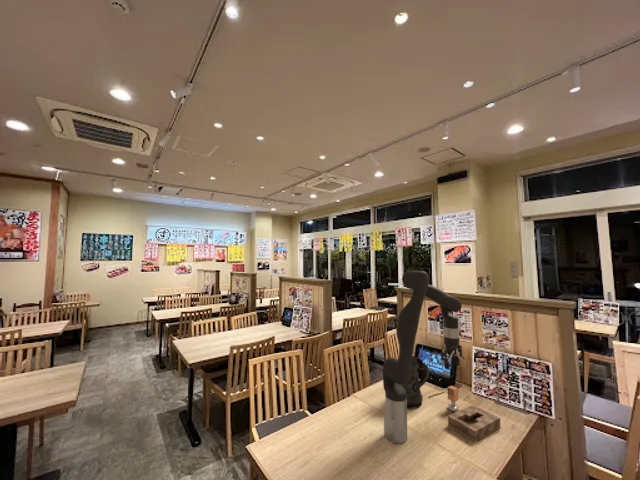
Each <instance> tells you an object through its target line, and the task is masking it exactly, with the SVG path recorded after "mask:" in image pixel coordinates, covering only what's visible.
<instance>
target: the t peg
mask: <svg viewBox="0 0 640 480" xmlns="http://www.w3.org/2000/svg"><path fill="white" fill-rule="evenodd" d="M456 387H457V386H455V387H454V386H453V385H450V386H447V391H448V392H447V400H450V403H449V404H447V409H448V410H449V411H450V412H453V413H456V412H458V411H460V410H459V409H460V408H459V406H458V405H457V404H456V402H458V401H459V391H458V388H459V387H458V388H456Z"/></svg>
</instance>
